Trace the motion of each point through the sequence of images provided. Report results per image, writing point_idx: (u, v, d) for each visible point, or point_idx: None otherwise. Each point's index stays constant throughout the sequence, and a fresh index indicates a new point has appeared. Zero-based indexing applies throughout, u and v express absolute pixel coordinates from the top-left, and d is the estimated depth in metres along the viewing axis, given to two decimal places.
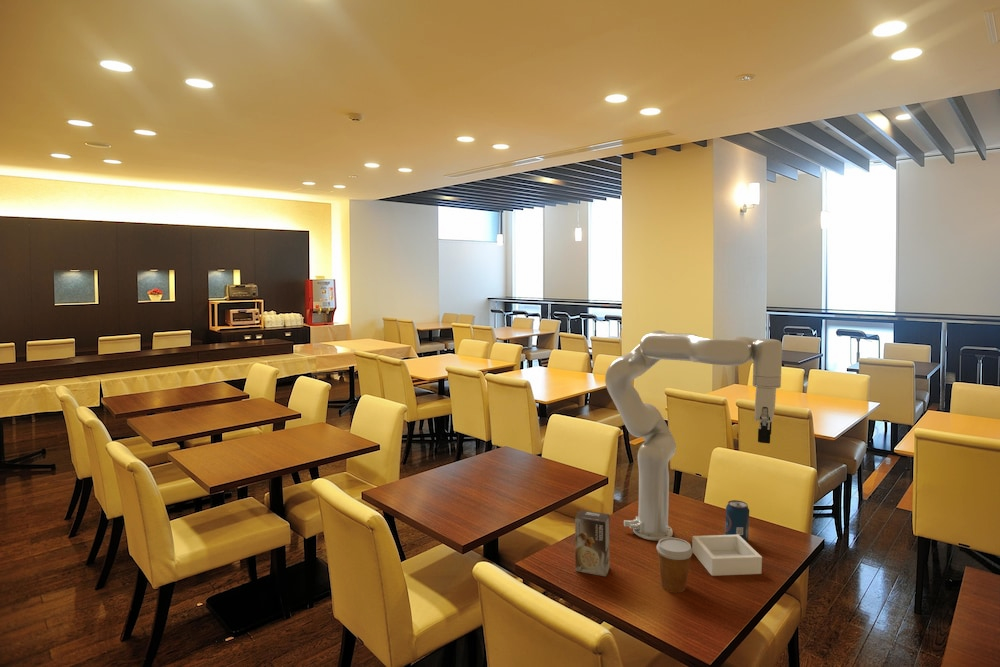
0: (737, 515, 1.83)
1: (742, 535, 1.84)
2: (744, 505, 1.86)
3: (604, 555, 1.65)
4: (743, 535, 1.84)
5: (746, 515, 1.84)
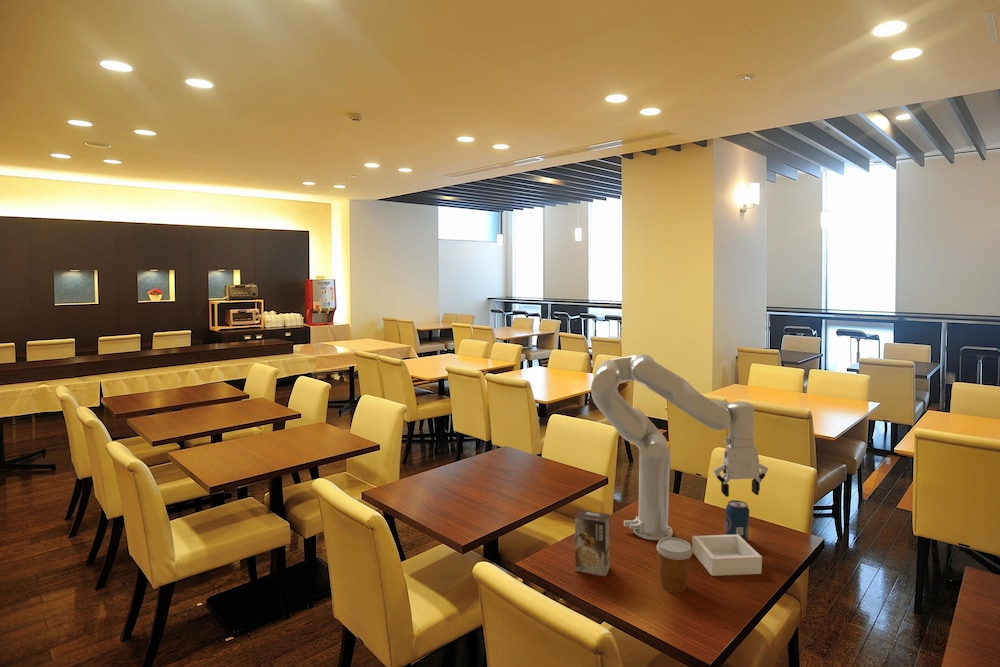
0: (737, 515, 1.83)
1: (742, 535, 1.84)
2: (744, 505, 1.86)
3: (604, 555, 1.65)
4: (743, 535, 1.84)
5: (746, 515, 1.84)
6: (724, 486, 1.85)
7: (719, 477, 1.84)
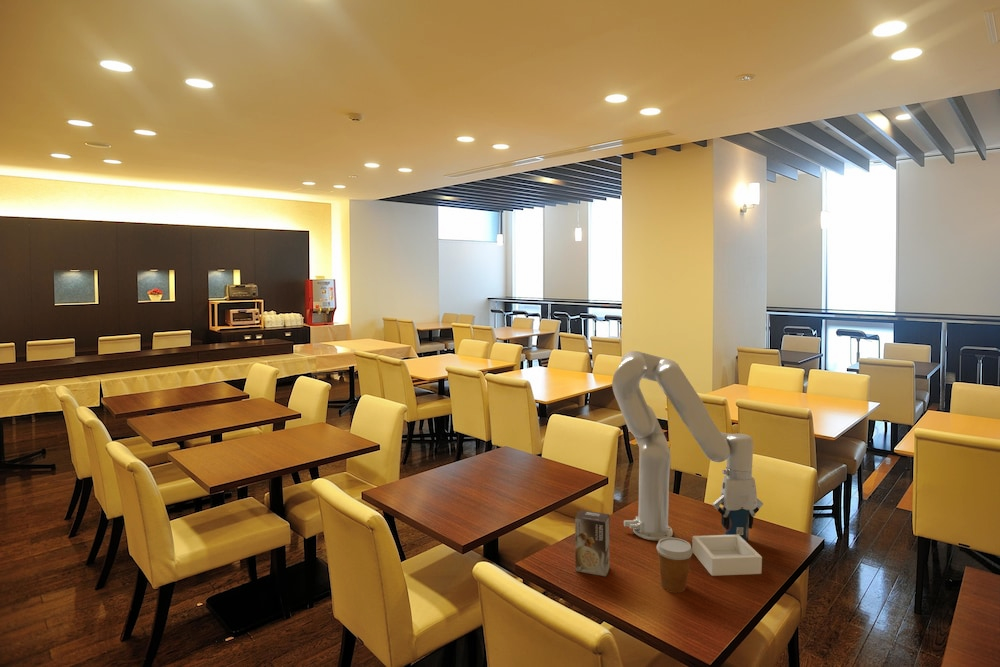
0: (737, 515, 1.83)
1: (742, 535, 1.84)
2: None
3: (604, 555, 1.65)
4: (743, 535, 1.84)
5: (747, 515, 1.84)
6: (724, 519, 1.86)
7: (720, 510, 1.85)
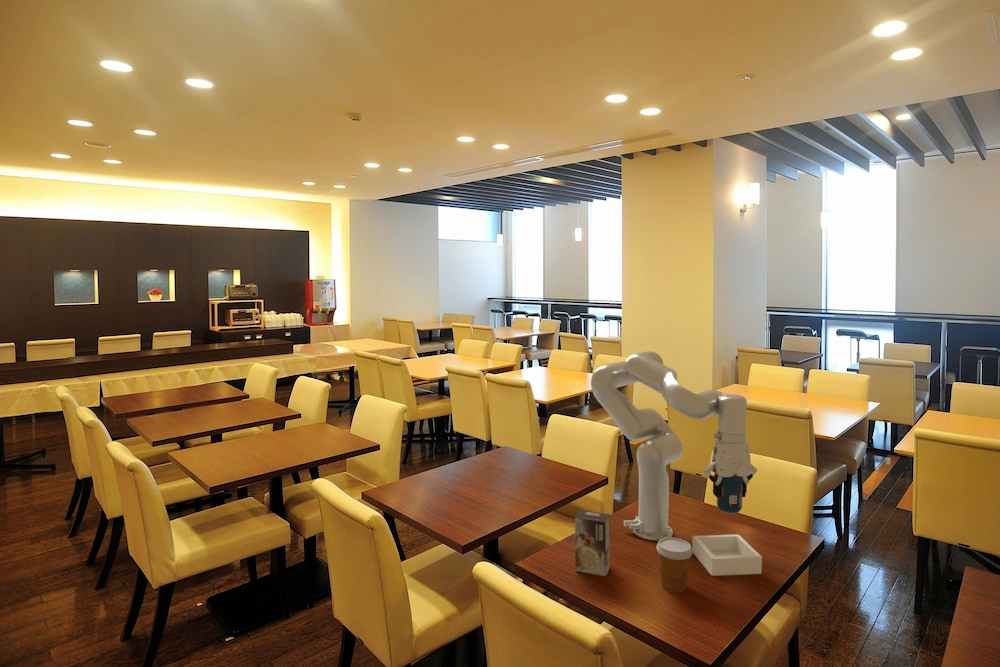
0: (730, 482, 1.69)
1: (736, 504, 1.70)
2: None
3: (604, 555, 1.65)
4: (736, 504, 1.70)
5: (740, 482, 1.69)
6: (716, 487, 1.71)
7: (711, 477, 1.71)
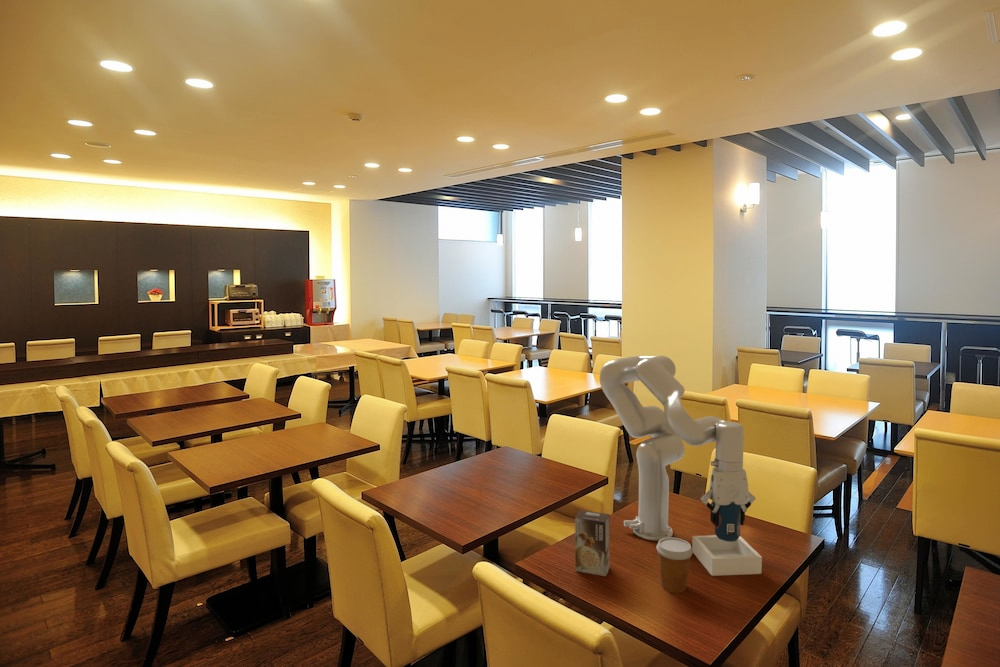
0: (727, 511, 1.68)
1: (733, 532, 1.68)
2: None
3: (604, 555, 1.65)
4: (734, 532, 1.68)
5: (738, 510, 1.68)
6: (713, 515, 1.70)
7: (708, 505, 1.70)
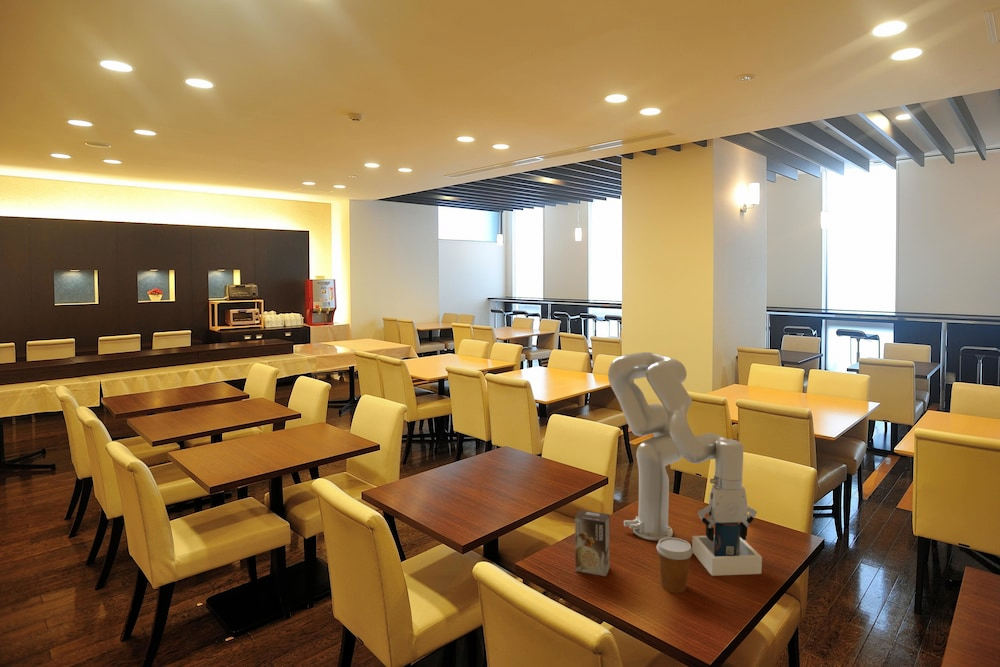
0: (727, 533, 1.69)
1: (732, 555, 1.69)
2: None
3: (604, 555, 1.65)
4: (733, 555, 1.69)
5: (737, 533, 1.69)
6: (709, 530, 1.71)
7: (704, 520, 1.70)
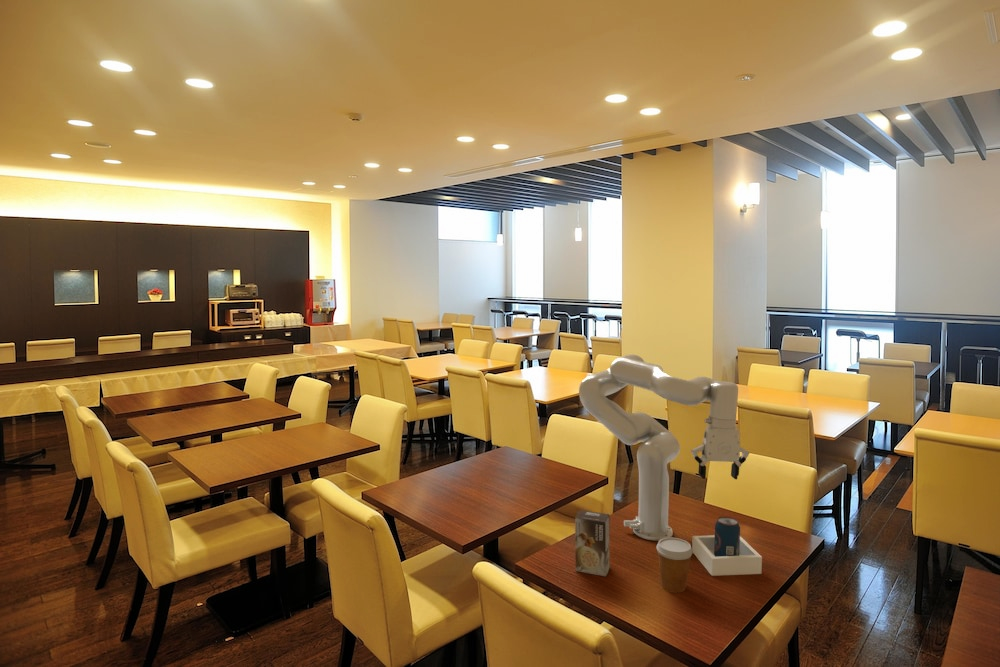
0: (727, 533, 1.69)
1: (732, 555, 1.69)
2: (734, 522, 1.71)
3: (604, 555, 1.65)
4: (733, 555, 1.69)
5: (737, 533, 1.69)
6: (701, 468, 1.77)
7: (696, 458, 1.76)
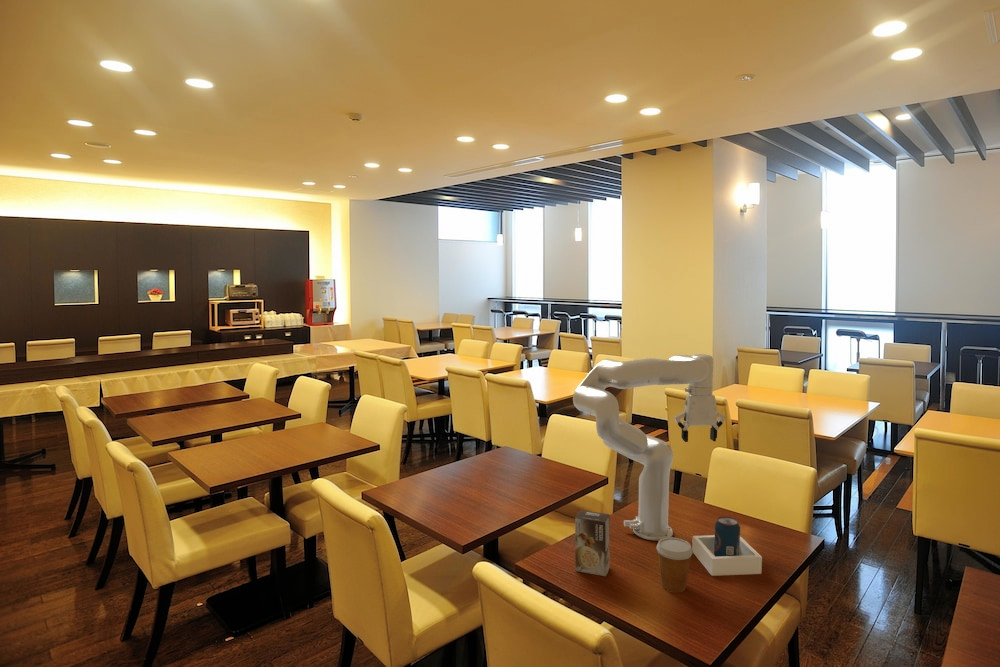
0: (727, 533, 1.69)
1: (732, 555, 1.69)
2: (734, 522, 1.71)
3: (604, 555, 1.65)
4: (733, 555, 1.69)
5: (737, 533, 1.69)
6: (684, 432, 1.98)
7: (679, 423, 1.97)
